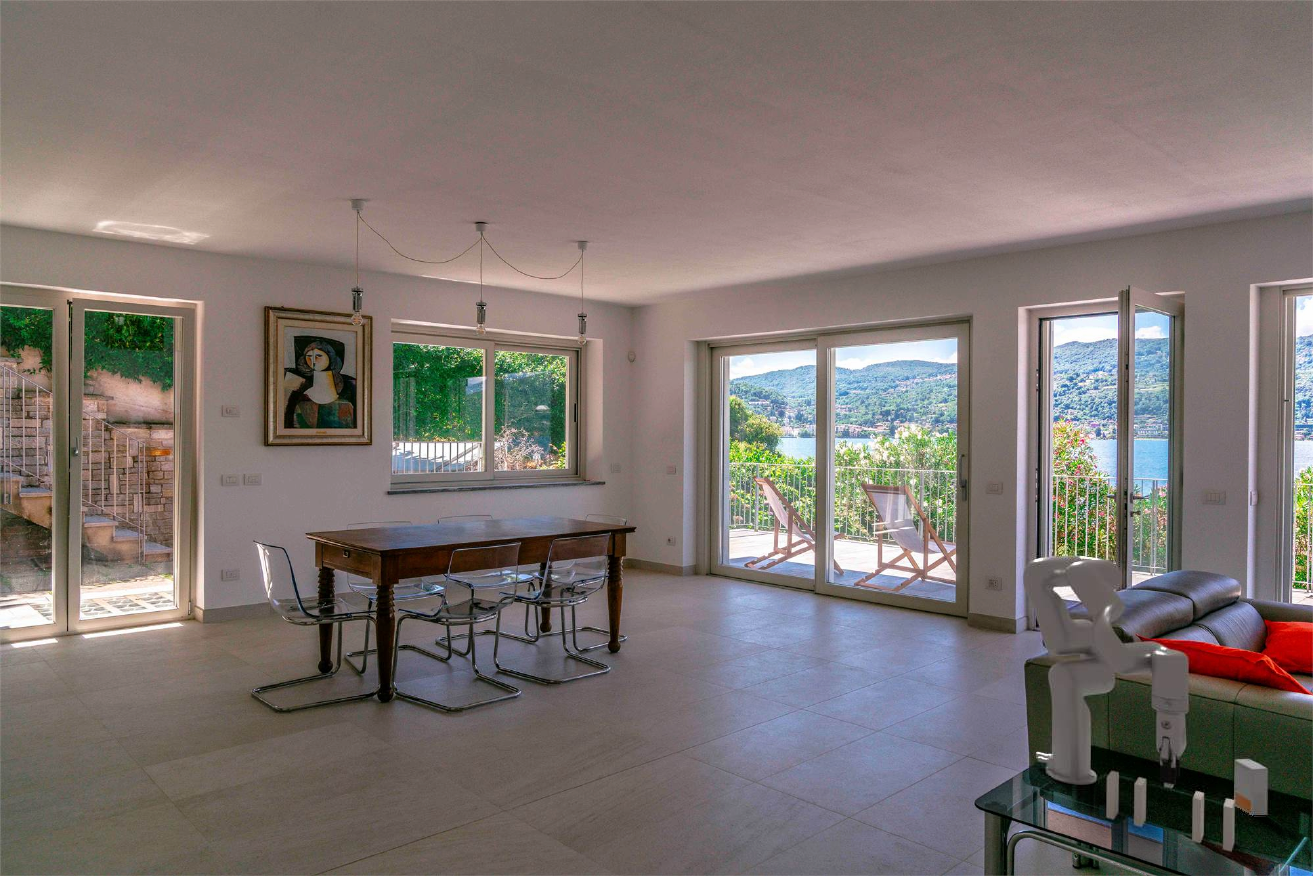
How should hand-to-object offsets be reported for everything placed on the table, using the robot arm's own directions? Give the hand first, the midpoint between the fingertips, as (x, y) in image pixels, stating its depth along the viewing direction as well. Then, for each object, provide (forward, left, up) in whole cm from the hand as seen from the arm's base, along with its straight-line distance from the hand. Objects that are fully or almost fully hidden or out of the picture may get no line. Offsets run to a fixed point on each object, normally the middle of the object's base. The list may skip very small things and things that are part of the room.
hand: (1169, 778), depth 201 cm
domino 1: (-12, 0, -13) cm, 18 cm away
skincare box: (+14, +24, -13) cm, 31 cm away
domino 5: (+12, 0, -13) cm, 17 cm away
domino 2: (-6, 0, -13) cm, 14 cm away
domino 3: (0, 0, -1) cm, 1 cm away
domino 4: (+6, 0, -13) cm, 14 cm away
